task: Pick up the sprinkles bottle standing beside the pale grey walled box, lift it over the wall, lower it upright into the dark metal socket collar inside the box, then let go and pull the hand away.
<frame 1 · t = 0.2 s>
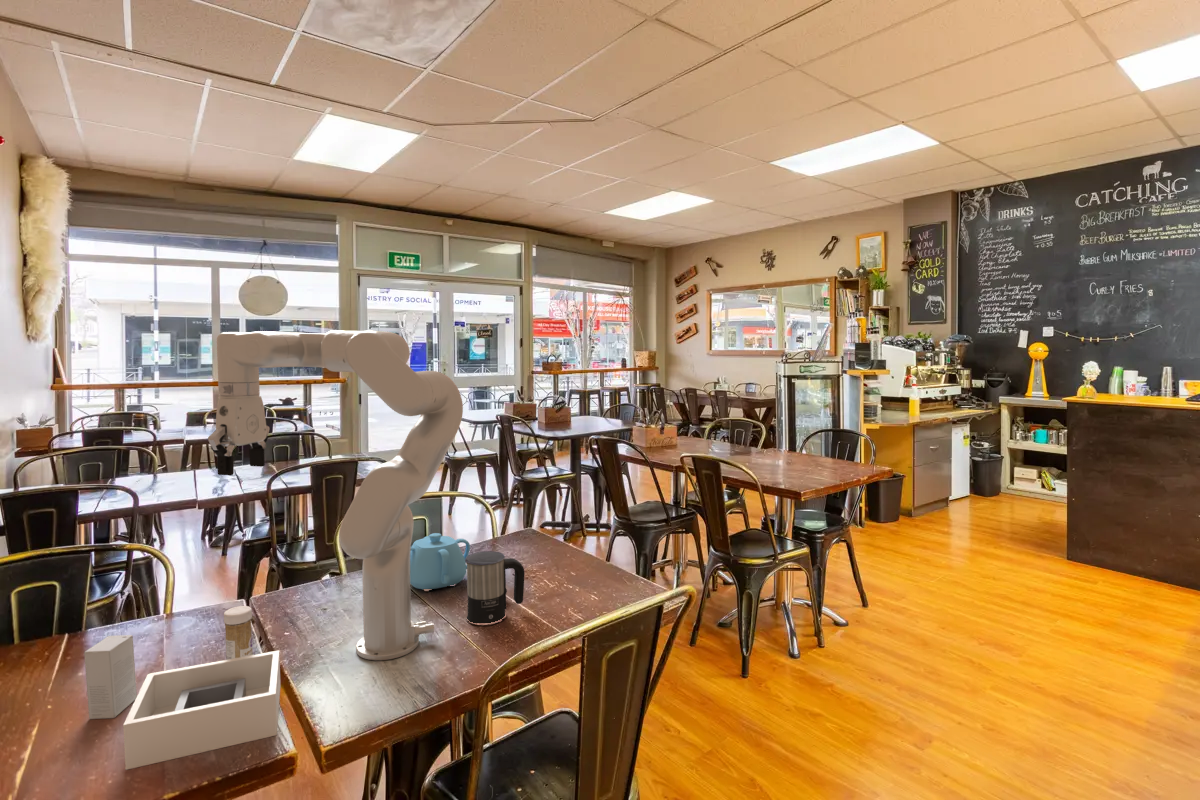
hand: (242, 470, 132), 37 cm above the table, tool pointing down, fingers open, 9 cm apart
skincare box: (113, 710, 107), on the table
inlet box: (211, 723, 103), on the table
sprinkles bottle: (240, 679, 118), on the table
decorative pot: (435, 584, 166), on the table
milk frother: (487, 612, 149), on the table
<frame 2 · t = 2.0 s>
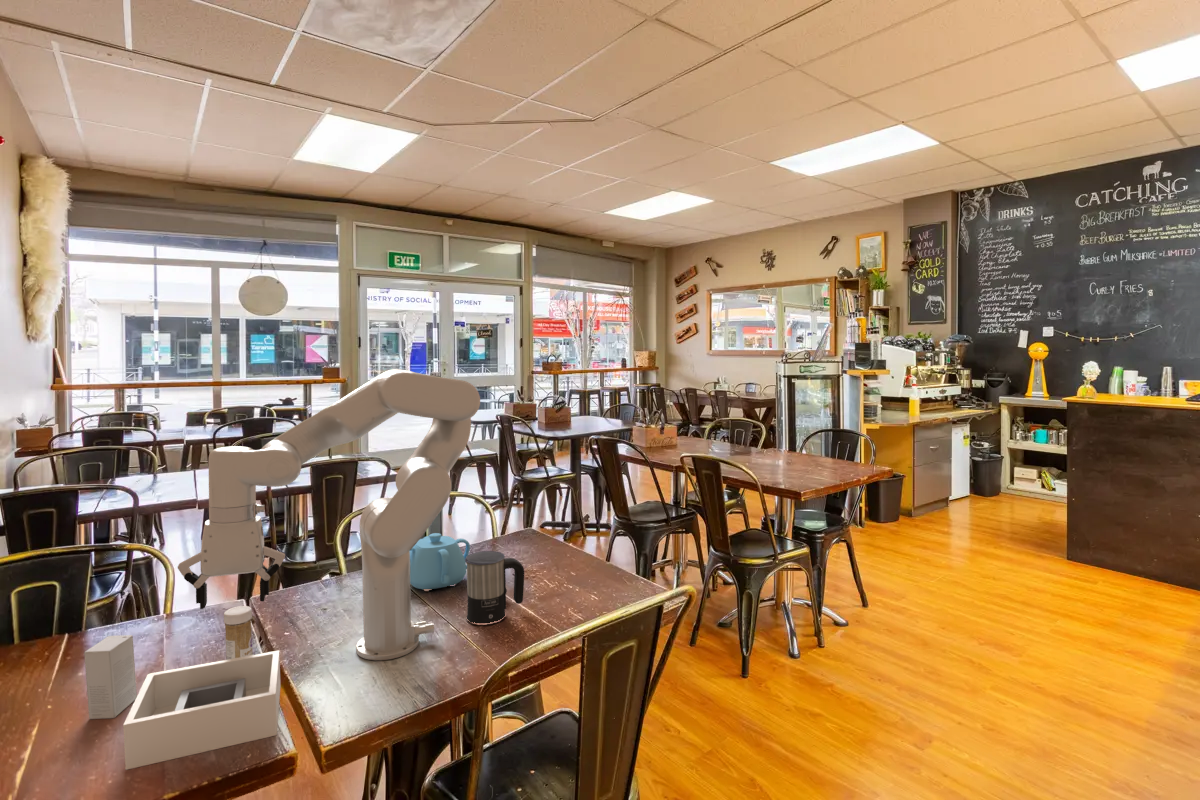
hand: (233, 602, 116), 15 cm above the table, tool pointing down, fingers open, 9 cm apart
nothing on the table moved.
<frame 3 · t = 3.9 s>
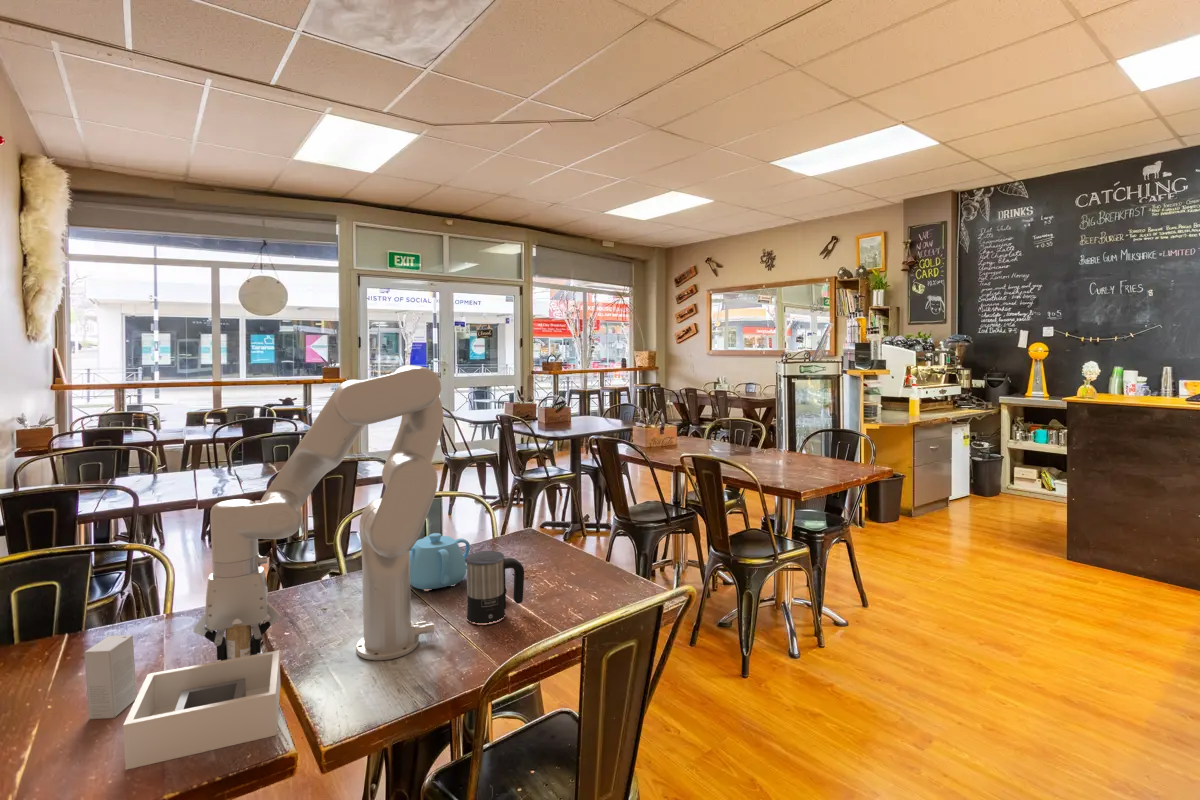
hand: (239, 658, 117), 4 cm above the table, tool pointing down, fingers closed on sprinkles bottle, 4 cm apart
sprinkles bottle: (240, 679, 118), on the table, touching gripper
everything else where it was.
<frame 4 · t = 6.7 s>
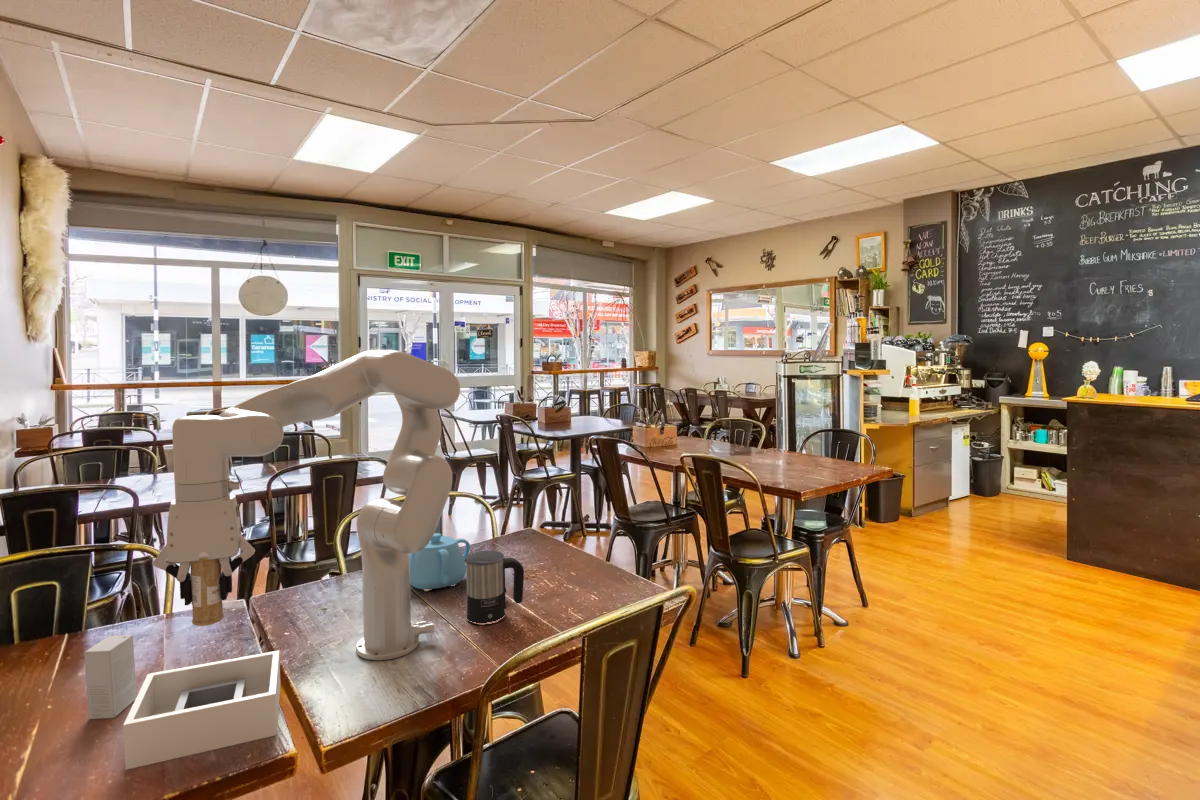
hand: (207, 598, 102), 21 cm above the table, tool pointing down, fingers closed on sprinkles bottle, 4 cm apart
sprinkles bottle: (208, 622, 102), point 17 cm above the table, touching gripper
everything else where it was.
when the fingers open (7 cm above the table, at t = 9.6 s): sprinkles bottle drops 2 cm, resting on inlet box.
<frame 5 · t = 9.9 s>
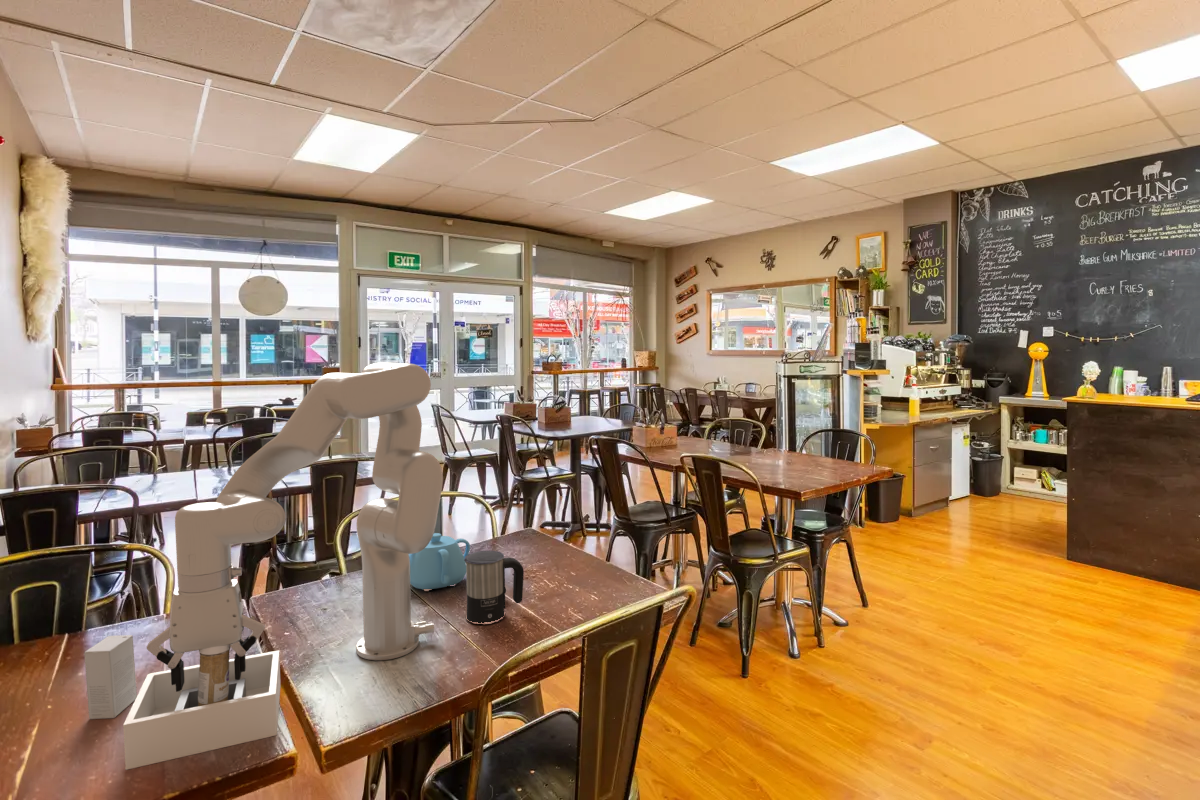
hand: (209, 681, 103), 7 cm above the table, tool pointing down, fingers open, 7 cm apart
sprinkles bottle: (212, 717, 103), point 1 cm above the table, touching inlet box
everything else where it was.
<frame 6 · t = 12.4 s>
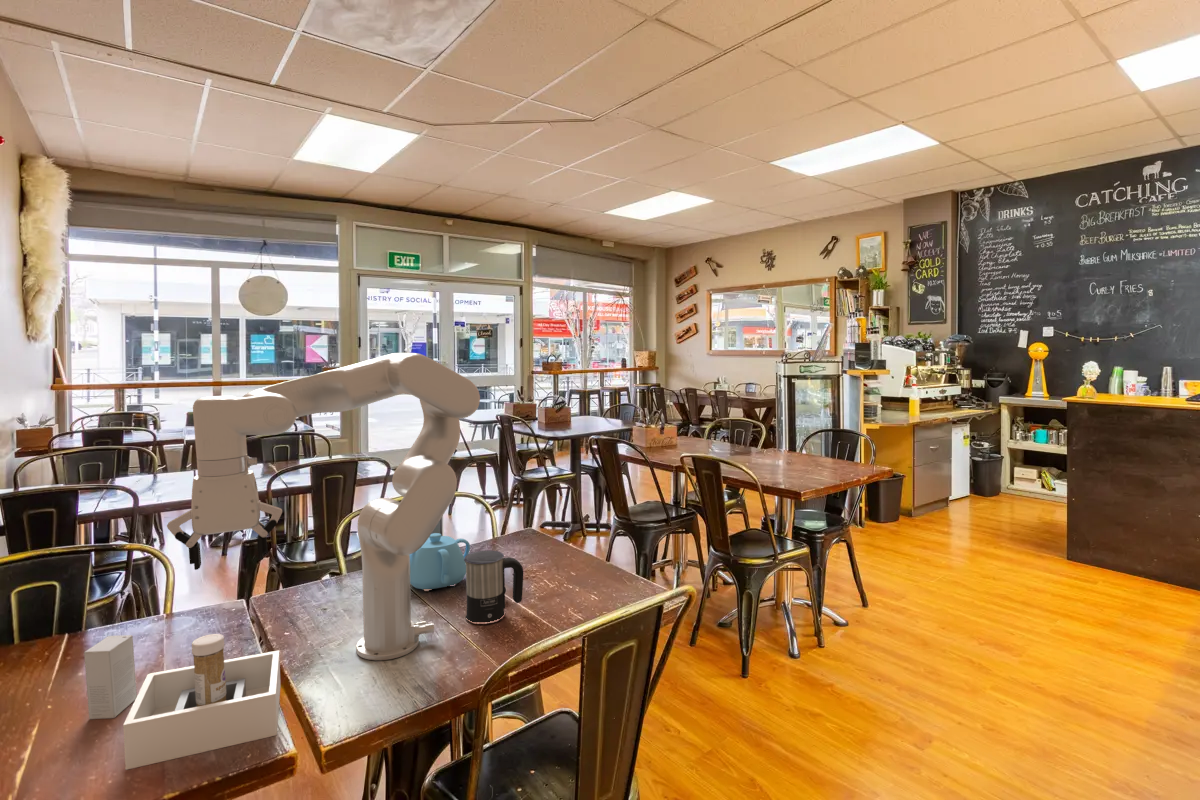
hand: (230, 562, 109), 25 cm above the table, tool pointing down, fingers open, 9 cm apart
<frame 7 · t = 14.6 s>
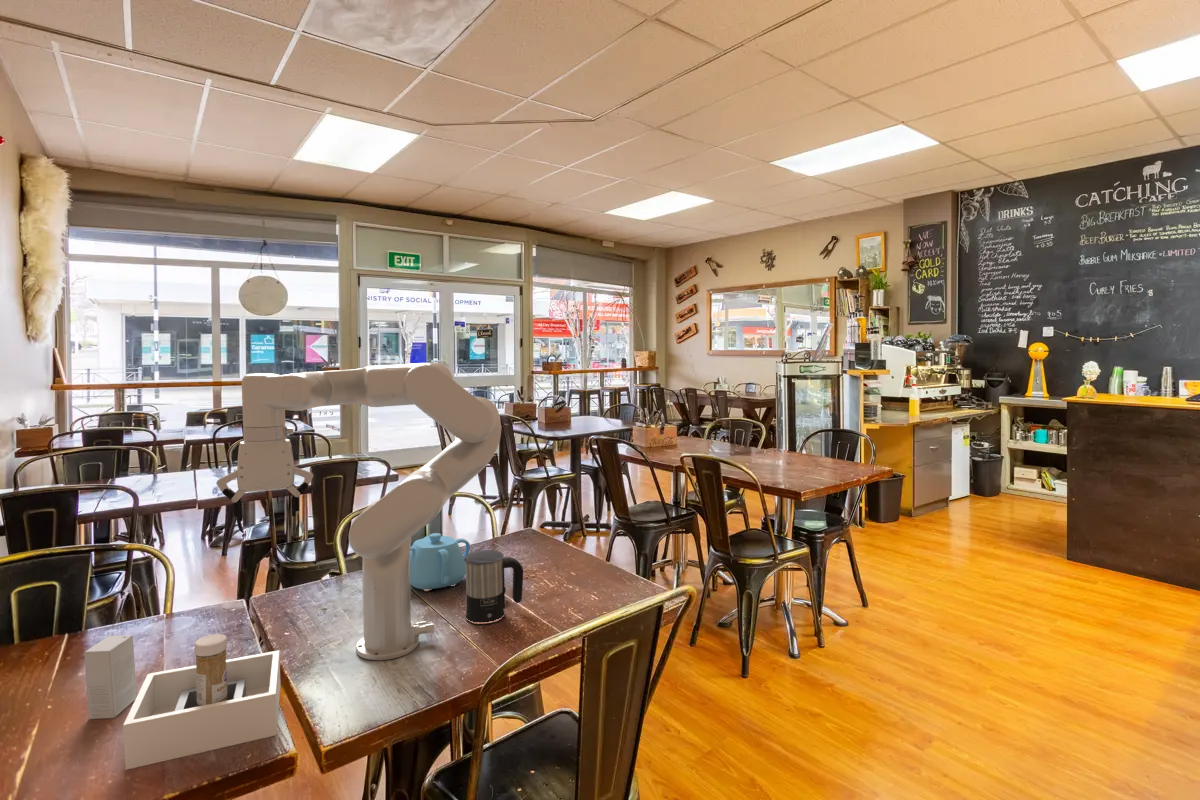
hand: (267, 517, 126), 28 cm above the table, tool pointing down, fingers open, 9 cm apart
nothing on the table moved.
at the end: sprinkles bottle 0.1 cm off-centre on the inlet box, point 0.8 cm above the inlet box's base; sprinkles bottle tilted 1°; the gripper is holding nothing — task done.
